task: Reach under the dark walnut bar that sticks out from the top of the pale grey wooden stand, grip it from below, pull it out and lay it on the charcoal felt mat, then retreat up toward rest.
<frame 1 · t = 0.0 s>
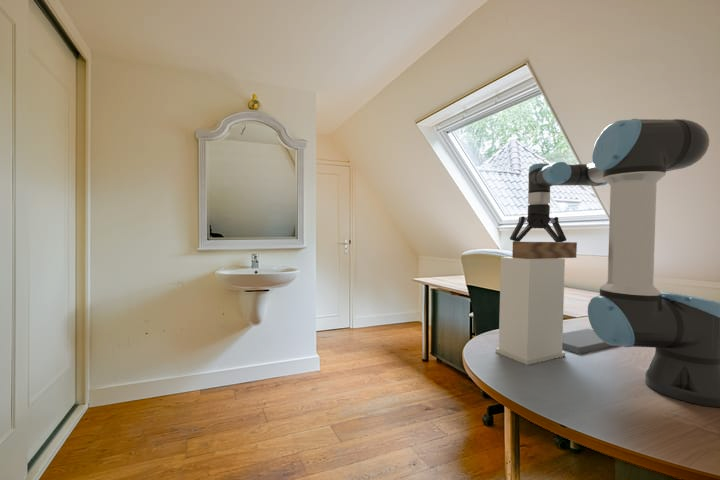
hand: (537, 259, 130), 28 cm above the table, tool pointing down, fingers open, 13 cm apart
felt mat: (583, 342, 116), on the table
stand: (530, 354, 104), on the table
walnut bar: (545, 257, 106), point 30 cm above the table, touching stand
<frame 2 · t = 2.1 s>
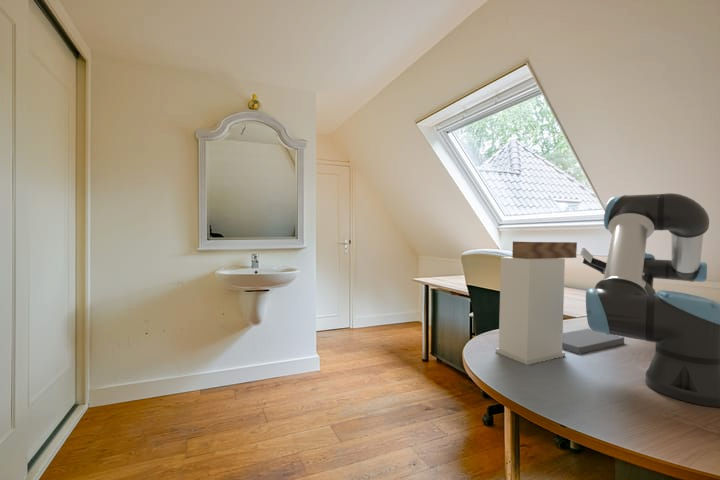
hand: (602, 251, 120), 32 cm above the table, tool pointing upward, fingers open, 13 cm apart
nothing on the table moved.
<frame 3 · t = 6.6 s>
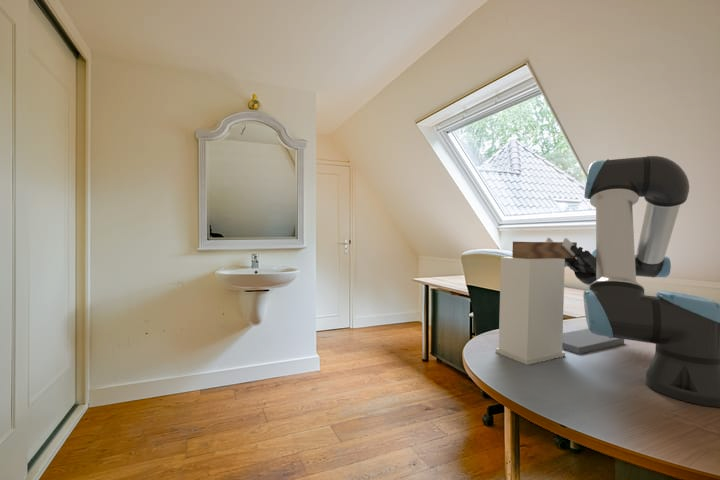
hand: (555, 241, 108), 35 cm above the table, tool pointing upward, fingers closed on walnut bar, 5 cm apart
walnut bar: (545, 257, 106), point 30 cm above the table, touching gripper, stand
everything else where it was.
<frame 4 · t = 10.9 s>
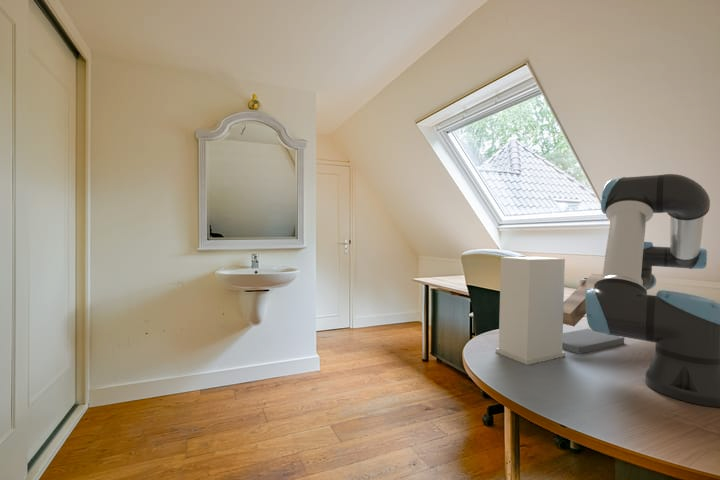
hand: (589, 284, 117), 20 cm above the table, tool horizontal, fingers closed on walnut bar, 5 cm apart
walnut bar: (585, 304, 116), point 13 cm above the table, tilted 30°, touching gripper
everything else where it was.
when the fingers open (8 cm above the table, at t = 13.6 s): walnut bar drops 2 cm, resting on felt mat.
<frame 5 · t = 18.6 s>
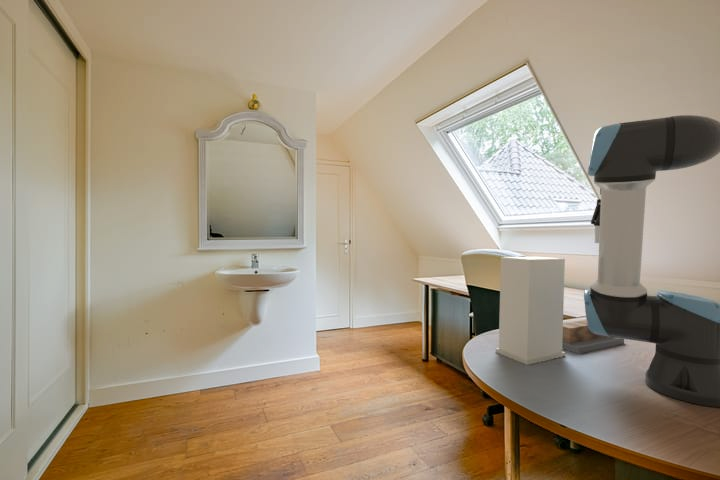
hand: (611, 243, 119), 35 cm above the table, tool pointing down, fingers open, 13 cm apart
walnut bar: (583, 337, 116), point 2 cm above the table, touching felt mat
everything else where it was.
at the end: walnut bar inside the target area on the felt mat (0.2 cm from its centre), point 2.0 cm above the felt mat's base; walnut bar point 2.0 cm above the table; the gripper is holding nothing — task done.
